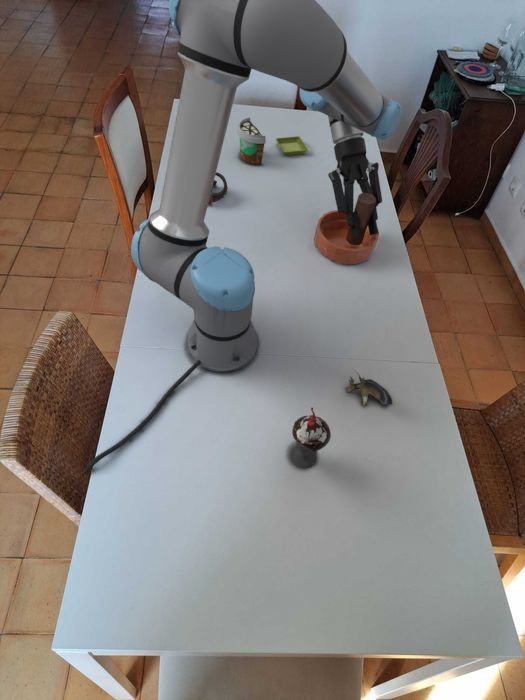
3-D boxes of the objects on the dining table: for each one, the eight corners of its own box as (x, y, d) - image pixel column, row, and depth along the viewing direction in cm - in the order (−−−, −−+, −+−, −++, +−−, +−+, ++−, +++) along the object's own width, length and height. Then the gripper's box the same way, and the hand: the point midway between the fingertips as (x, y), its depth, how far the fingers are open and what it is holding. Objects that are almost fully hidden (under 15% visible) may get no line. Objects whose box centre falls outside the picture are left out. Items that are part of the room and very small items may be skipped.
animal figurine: (345, 409, 92) (391, 416, 90) (348, 376, 90) (395, 382, 88) (347, 394, 99) (390, 400, 97) (351, 363, 97) (394, 369, 95)
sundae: (298, 432, 89) (311, 393, 77) (326, 454, 87) (344, 417, 75) (278, 456, 86) (288, 419, 74) (306, 479, 84) (321, 445, 72)
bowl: (368, 272, 118) (374, 256, 114) (307, 257, 120) (311, 240, 116) (376, 234, 128) (382, 218, 124) (320, 220, 130) (324, 204, 125)
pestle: (361, 247, 120) (374, 205, 110) (344, 242, 120) (356, 201, 110) (363, 236, 123) (377, 195, 112) (347, 232, 123) (359, 191, 113)
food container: (230, 150, 148) (231, 119, 140) (247, 147, 149) (249, 116, 141) (245, 170, 141) (247, 139, 133) (263, 167, 143) (266, 136, 135)
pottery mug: (225, 185, 136) (231, 172, 129) (220, 214, 135) (227, 202, 127) (185, 174, 133) (190, 159, 125) (180, 204, 131) (184, 190, 124)
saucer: (274, 143, 152) (275, 137, 150) (298, 141, 154) (299, 135, 152) (282, 158, 147) (283, 152, 146) (307, 155, 149) (308, 149, 148)
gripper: (369, 140, 118) (385, 231, 122) (310, 150, 112) (329, 245, 117) (387, 131, 111) (402, 227, 115) (324, 141, 105) (343, 241, 110)
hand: (365, 236), depth 116 cm, fingers closed on pestle, 4 cm apart
